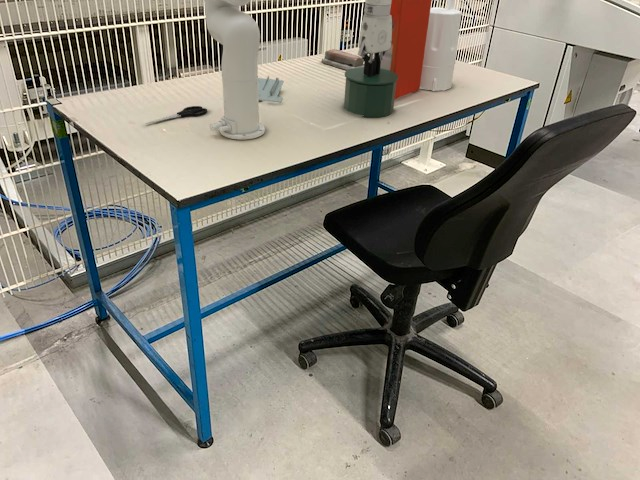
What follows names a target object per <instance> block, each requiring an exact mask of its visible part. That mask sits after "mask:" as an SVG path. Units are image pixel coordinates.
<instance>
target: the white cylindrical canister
mask: <svg viewBox="0 0 640 480" xmlns="http://www.w3.org/2000/svg"><path fill="white" fill-rule="evenodd" d="M433 1H434V2H435V1H436V2H437V1H438V0H433ZM455 4H456V0H447V4H446V7H439V6H438V7H436V6H435V7H434V6H433V7H431V9H430V16H429V23H428V30H427V37H426V45H425V52H424V59H423V66H422V73H421V81H420V88H419V90H427V91H432V92H436V91H442V92H445V91H446V90H449V89H451V88H452V86H453V77H454V73H455V72H454V70H455V65H456V62H457V61H456V59H457V53H458V43H459V35H460V27H461V20H462V11H461V10H458V9H456V8H455V6H456V5H455Z"/></svg>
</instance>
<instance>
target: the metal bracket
mask: <svg viewBox="0 0 640 480" xmlns="http://www.w3.org/2000/svg"><path fill="white" fill-rule="evenodd" d="M284 82H285V81H284V80H282V79H280V78H279V77H275V79H273V78H272V79H271V78H270V75H267V77H266V78H262V77H258V98H259V102H272V103H282V100H284V99H283V96H279V94H280V91H281V89H282V87H283V86H284Z"/></svg>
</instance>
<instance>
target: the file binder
mask: <svg viewBox="0 0 640 480" xmlns="http://www.w3.org/2000/svg"><path fill="white" fill-rule="evenodd" d="M432 1H433V0H392V2H391V11H390V15H391V17H392V40H391V47H390V49H389V50H388V51H387V52H386V53H385V54H384V56H383V59H382V61H381V66H380V68H381V69H386V70H389V71H392V72H394V73H396V74H397V75H398V80H397V82H396V90H395V98H394V100H396V99H398V98H401V97H404V96H406V95H409V94H414V93H416V92H418V91H420V81H421V73H422V66H423V59H424V52H425V45H426V37H427V30H428V23H429V16H430V9H431V8H432Z"/></svg>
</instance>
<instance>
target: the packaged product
mask: <svg viewBox="0 0 640 480" xmlns="http://www.w3.org/2000/svg"><path fill="white" fill-rule="evenodd" d="M321 63H322V64H326V65H329V66H331V67H333V68H337V69H342V70H345V71H347V70H349V69H352V68H359V67H364V61H363V58H362V57H361V56H359V55H356V54H352V53H350V52H346V51H343V50H340V49H336V48H332V49H329V50H328V49H327V50H326V51H324V58H321Z"/></svg>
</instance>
